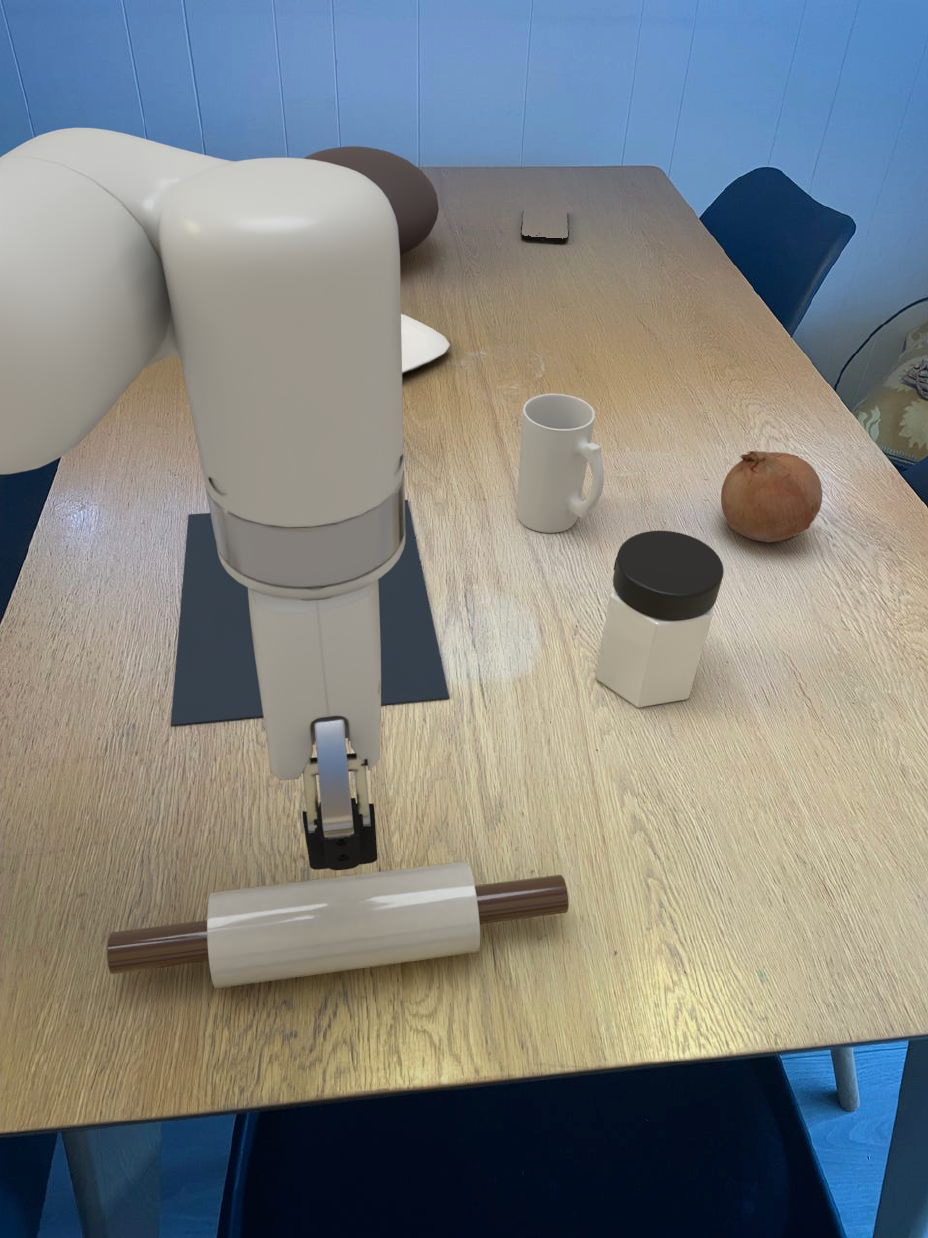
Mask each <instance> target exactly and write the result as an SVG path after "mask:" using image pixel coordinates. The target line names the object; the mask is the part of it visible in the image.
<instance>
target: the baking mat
mask: <svg viewBox="0 0 928 1238" xmlns="http://www.w3.org/2000/svg"><path fill="white" fill-rule="evenodd" d="M187 518H188V519H187V529H186V538H185V539H186V540H185V541H186V542H185V552H184V564H183V575H182V586H181V597H180V610H179V623H178V634H177V645H176V658H175V669H174V670H175V671H174V682H173V693H172V703H171V704H172V706H171V715H170V717H171V718H170V727H178V726H189V725H199V724H207V723H220V722H228V721H238V720H248V719H249V720H250V719H258V718H259V719H260V718H264V716H263V709H262V702H261V696H260V689H259V682H258V675H257V667H256V660H255V653H254V645H253V637H252V629H251V619H250V610H249V598H248V587H246V586H244V585H243V584H241V583H239V582H238V581H236V580H235V579H234V578H233V577H232V576H231V575H229V574H228V572H227V571H226V570H225V568H224V567H223V565H222V564H221V561H220V559H219V555H218V550H217V544H216V540H215V535H214V530H213V524H212V519H211V514H210V512H203V513H190V514H188V516H187ZM378 586H379V613H380V643H381V707H382V706H391V705H401V704H411V703H421V702H432V701H440V700H441V701H443V700H449V699H450V694H449V691H448V686H447V685H448V684H447V681H446V675H445V672H444V671H445V670H444V667H443V662H442V661H443V660H442V657H441V652H440V648H439V642H438V638H437V633H436V629H435V624H434V623H435V622H434V619H433V613H432V610H431V606H430V599H429V595H428V590H427V586H426V581H425V576H424V572H423V565H422V563H421V557H420V552H419V547H418V542H417V538H416V534H415V529H414V523H413V519H412V514H411V510H410V504H409V500H408V499H405V546H404V550H403V552H402V554H401V556H400V558H399V560H398V561H397V562H396V564H395V565H394V566H393V567H392V568H391V569H390V570H389V571H388V572H387V573H386V574H384V575H383V576H382V577H381V578H379V579H378Z"/></svg>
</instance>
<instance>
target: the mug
mask: <svg viewBox="0 0 928 1238" xmlns="http://www.w3.org/2000/svg"><path fill="white" fill-rule="evenodd" d="M522 408H523V409H522V421H521V422H522V423H521V432H520V433H521V434H520V450H519V462H518V463H519V465H518V478H517V498H516V499H517V500H516V516H517V519H518V520H519V521H520V523H521V524H522V525H524V526H525V527H526V528H528V529H529V530H533V531H535V532H539V533H544V534H556V533H557V534H558V533H561V532H562V533H563V532H565V531H567V530H569V529H571V528H572V527H573V526H574V525H575V524H576V522H577V520H578V518H580V519H585V518H587V517H589V516H590V515H591V513H592V512H593V510H594V508H595V507H596V505H597V504H598V502H599V500H600V498H601V497H602V493H603V490H604V484H605V483H604V482H605V481H604V480H605V473H604V472H605V471H604V464H603V458H602V446H601V445H599V444H597V443H595V442H592V439H593V432H594V424H595V418H596V411H595V409H594V408H593V406H591V405H590V404H589V403H588V402H587V401H585V400H583V399H582V398H579V397H576V396H574V395H569V394H563V393H545V394H544V393H543V394H540V395H536V396H533V397H532V398H529V399H528V400H527V401H526V402H524V405H523V407H522ZM588 465H589V467H590V471H591V475H592V483H591V488H590V491H589V493H588V495H587V497H586V499H585V500H584V499H582V495H583V491H584V484H585V477H586V471H587V466H588Z"/></svg>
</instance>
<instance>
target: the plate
mask: <svg viewBox="0 0 928 1238" xmlns="http://www.w3.org/2000/svg"><path fill="white" fill-rule="evenodd" d="M401 341H402V375H405V374H407V373H409V372H412V371H414V370H416V369H419V368H421V367H423V366H426V365H429V364H430V363H432V362H434V361H435V360H438V359H439V358H441V357H443V356H445V355H446V353H447V352H448V350H449V349H450V347H451V343H450V342H449V341H448V339H447V337H446V336H444V335H443V334H441V333H440V332H438V331H436V330H435V329H434V328H433V327H431V326H428V325H426V324H424V323H422V322H420V321H418V320H416V319H414V318H412V317H410V316H408V315H406V314H403V313H401Z"/></svg>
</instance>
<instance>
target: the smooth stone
mask: <svg viewBox="0 0 928 1238" xmlns="http://www.w3.org/2000/svg"><path fill="white" fill-rule="evenodd" d="M301 158H302V157H301ZM302 159H310V160H317V161H323V162H328V163H331V164H335V165H339V166H343V167H346V168H349V169H352V170H354V171H357V172H359V173H361V174H362V175H364V176H366V177H367V178H368V179H370V180H371V181H372V182H374V183H375V184H376V185H377V186H378V187H379V188H380V189H381V190H382V191H383V193H384V194H385V196H386V197H387V198H388V200H389V202H390V205H391V207H392V209H393V212H394V214H395V217H396V221H397V225H398V235H399V249H400V257H402V256H404V255H406V254H407V253H409V252H411V251H412V250H414V249H415V248H417V247H419V245H421V243H423V241H425V240H426V239H427V238H428V237H429V235H430V234H431V232H432V230H433V229H434V227H435V225H436V222H437V220H438V215H439V210H440V209H439V201H438V194H437V191H436V189H435V187H434V185H433V182H431V180H430V179H429V178H428V176H427V175H426V174H425V173H424V172H423V170H421V169H420V168H419V167H418V166H416V165H415V164H413V163H412V162H410V161H409V160H408V159H406V158H405V157H401V156H400V155H397V154H395V153H392V152H391V151H387V150H383V149H380V148H379V149H378V148H373V147H368V146H359V145H358V146H357V145H355V146H354V145H352V146H351V145H350V146H348V145H347V146H338V147H333V148H327V149H323V150H319V151H317V152H313V153H311V154H309V155H307V156H305V157H303V158H302Z"/></svg>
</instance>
